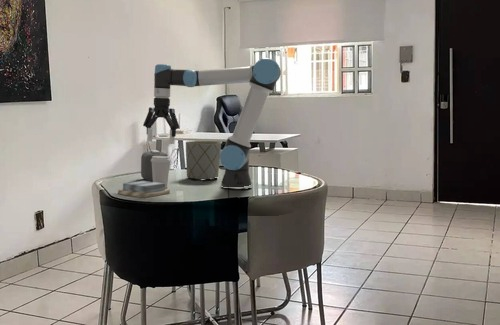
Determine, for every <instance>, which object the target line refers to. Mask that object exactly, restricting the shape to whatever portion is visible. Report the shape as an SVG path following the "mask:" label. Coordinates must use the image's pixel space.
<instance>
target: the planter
mask: <svg viewBox="0 0 500 325" xmlns="http://www.w3.org/2000/svg"><path fill="white" fill-rule="evenodd" d="M221 151H222V142H218V141H206V140H205V141H203V140H195V141H194V140H192V141H190V140H189V141H185V160H186V162H185V164H186V177H189V178H188V179H193V178H194V179H195V180H200V179H210V178H215V177H218V178H219V172H220V170H219V169H220V163H221V161H220V154H221ZM194 179H193V180H194ZM210 180H211V179H210Z"/></svg>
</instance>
